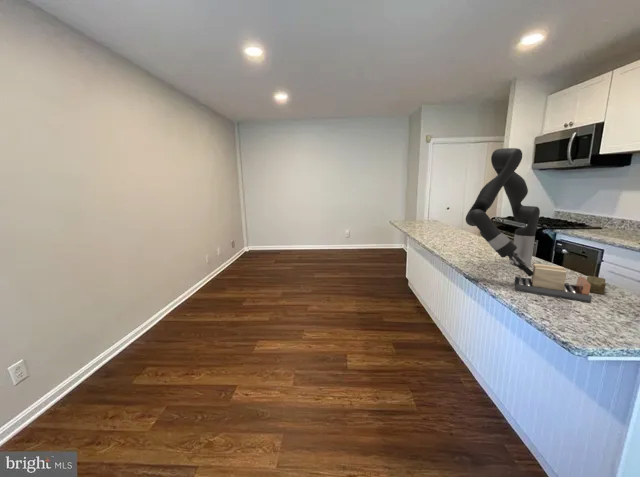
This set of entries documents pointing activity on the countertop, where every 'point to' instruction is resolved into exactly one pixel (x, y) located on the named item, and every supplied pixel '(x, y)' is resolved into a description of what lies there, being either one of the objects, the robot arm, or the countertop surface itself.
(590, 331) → the countertop surface
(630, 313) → the countertop surface
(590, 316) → the countertop surface
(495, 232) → the robot arm
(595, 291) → the stone block
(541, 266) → the birch slab
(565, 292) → the roller track
